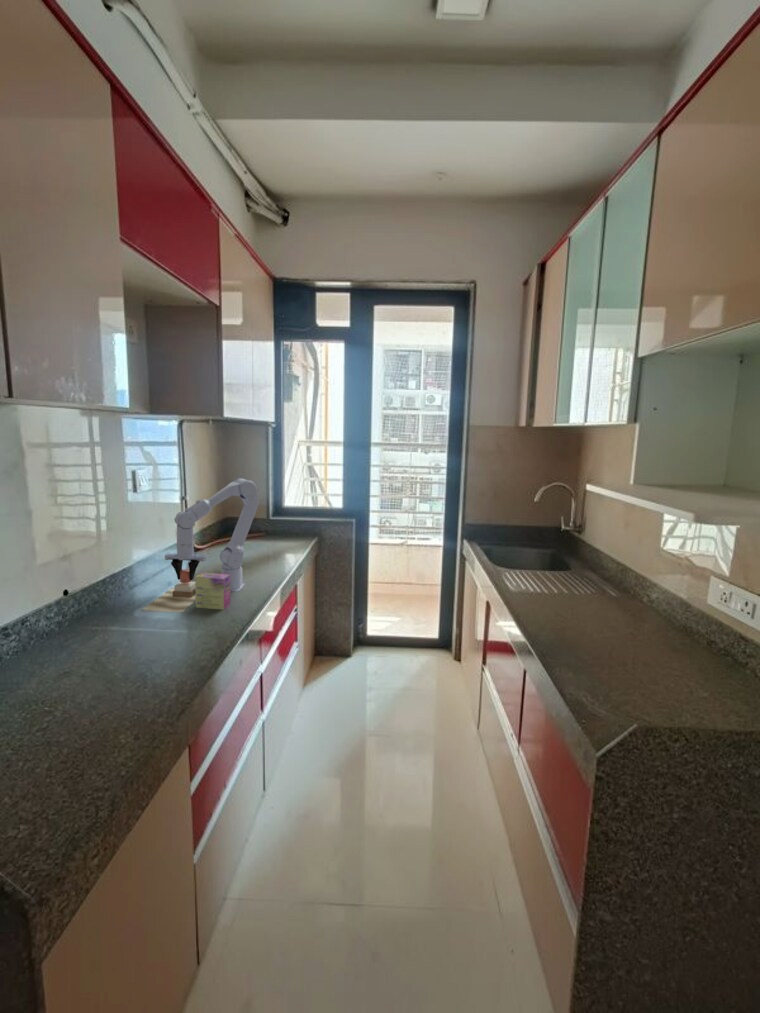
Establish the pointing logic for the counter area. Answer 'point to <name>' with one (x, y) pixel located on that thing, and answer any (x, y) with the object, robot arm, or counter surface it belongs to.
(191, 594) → the bottom block
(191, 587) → the top block
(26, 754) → the counter surface
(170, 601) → the board
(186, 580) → the cylinder
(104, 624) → the counter surface
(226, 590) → the box
